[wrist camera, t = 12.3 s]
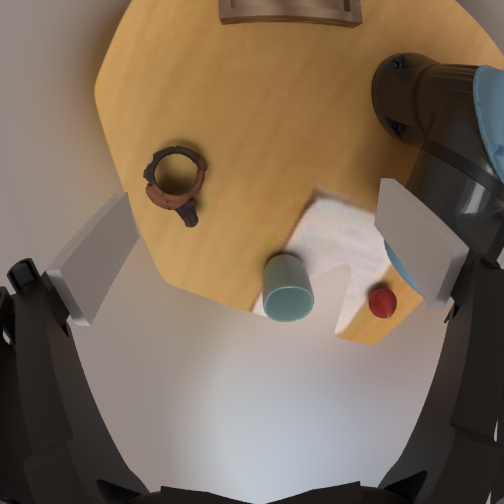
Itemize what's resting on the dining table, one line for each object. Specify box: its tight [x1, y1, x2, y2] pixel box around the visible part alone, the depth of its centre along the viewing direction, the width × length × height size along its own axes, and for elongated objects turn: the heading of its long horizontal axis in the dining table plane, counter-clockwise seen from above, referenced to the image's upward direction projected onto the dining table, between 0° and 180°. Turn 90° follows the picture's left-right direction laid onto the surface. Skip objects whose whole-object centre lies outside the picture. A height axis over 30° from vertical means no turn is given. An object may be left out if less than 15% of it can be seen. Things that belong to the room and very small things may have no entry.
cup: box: [262, 254, 314, 322], centre depth 45 cm, size 8×8×10 cm
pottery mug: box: [143, 146, 207, 227], centre depth 38 cm, size 12×10×8 cm
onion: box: [369, 288, 397, 319], centre depth 49 cm, size 6×6×8 cm
